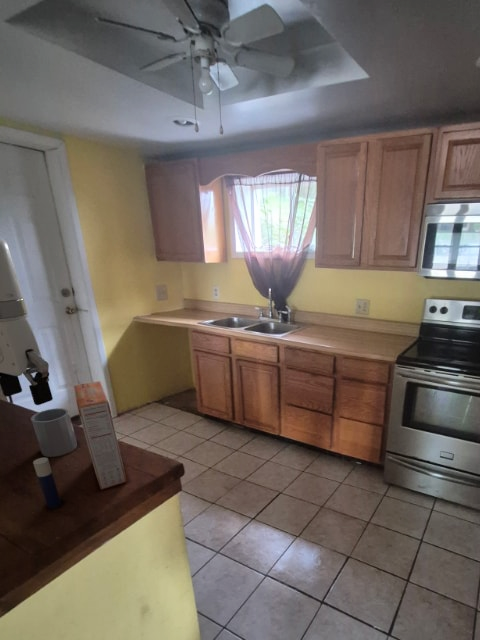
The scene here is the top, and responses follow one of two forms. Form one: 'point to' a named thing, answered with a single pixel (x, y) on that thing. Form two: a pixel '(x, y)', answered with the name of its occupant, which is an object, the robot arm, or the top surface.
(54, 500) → the marker
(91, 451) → the cracker box
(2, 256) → the robot arm
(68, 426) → the pen pot
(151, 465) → the top surface
